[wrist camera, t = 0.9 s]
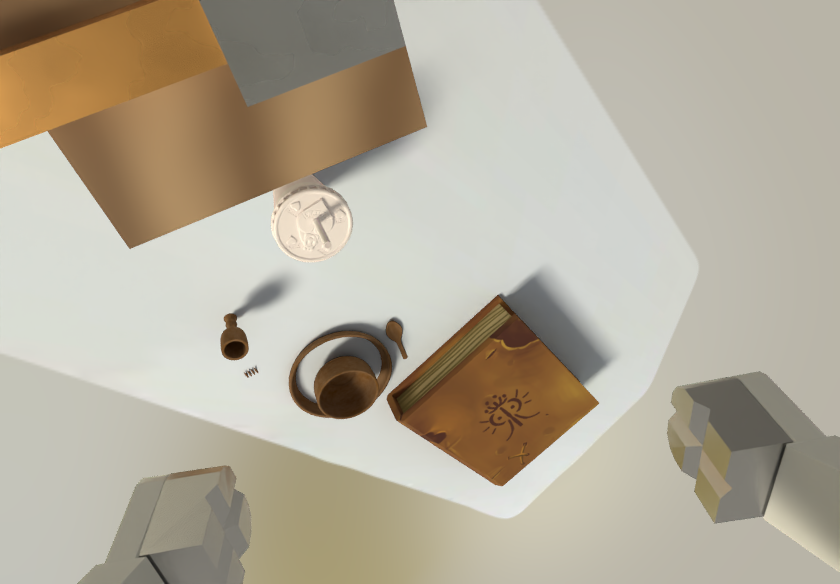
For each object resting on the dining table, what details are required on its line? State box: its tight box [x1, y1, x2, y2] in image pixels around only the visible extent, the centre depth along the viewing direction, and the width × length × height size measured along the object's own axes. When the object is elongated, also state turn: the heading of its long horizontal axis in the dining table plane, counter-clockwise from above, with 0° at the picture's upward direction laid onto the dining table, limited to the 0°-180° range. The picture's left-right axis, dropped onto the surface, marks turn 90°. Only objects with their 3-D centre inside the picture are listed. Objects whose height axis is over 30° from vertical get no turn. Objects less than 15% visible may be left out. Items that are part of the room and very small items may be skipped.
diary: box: [387, 295, 599, 486], centre depth 74 cm, size 23×19×6 cm
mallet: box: [0, 0, 406, 148], centre depth 19 cm, size 22×5×4 cm, turn 106°
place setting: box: [221, 313, 408, 419], centre depth 61 cm, size 18×20×6 cm
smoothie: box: [271, 174, 353, 262], centre depth 46 cm, size 6×6×14 cm
